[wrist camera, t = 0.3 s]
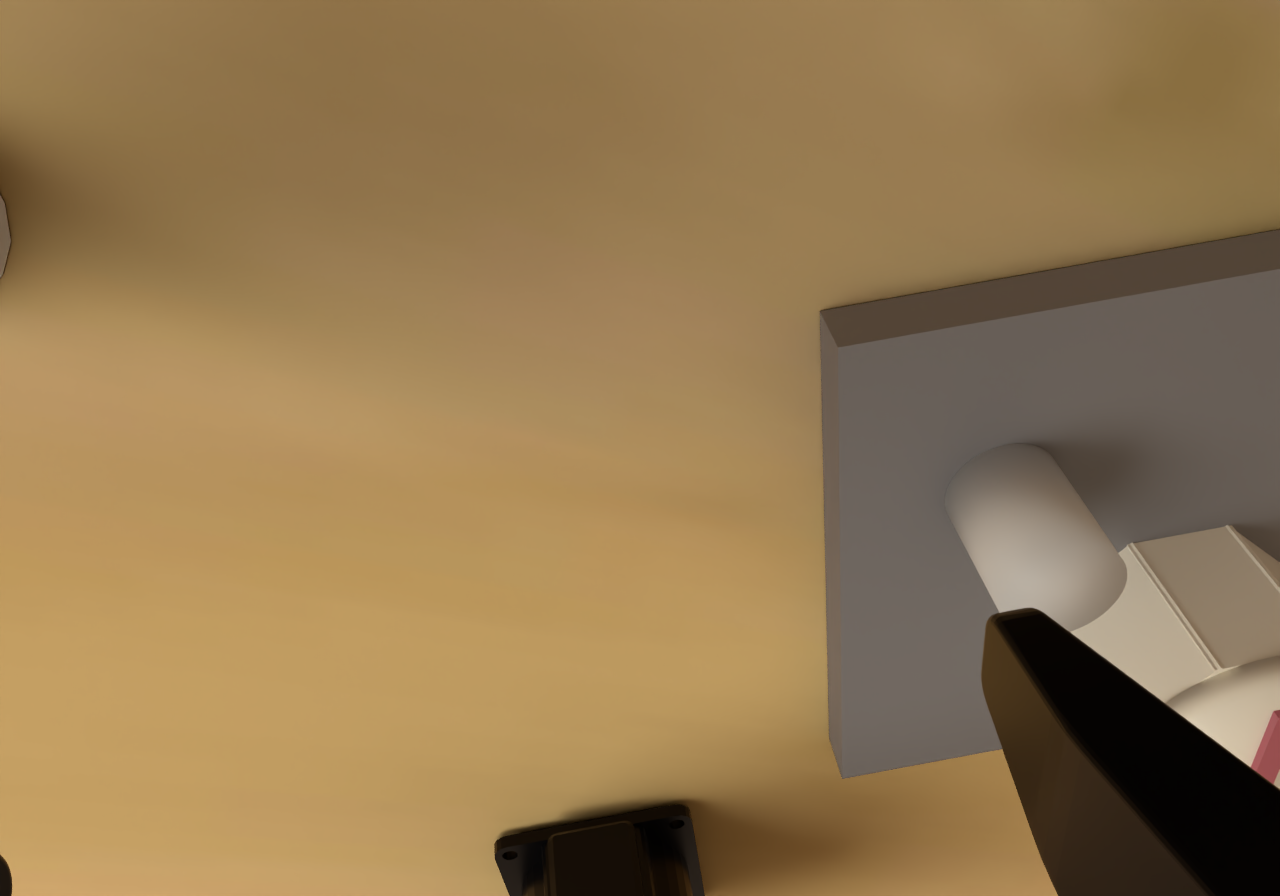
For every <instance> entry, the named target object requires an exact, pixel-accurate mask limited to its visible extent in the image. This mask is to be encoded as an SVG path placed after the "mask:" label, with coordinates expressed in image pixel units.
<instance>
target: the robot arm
mask: <svg viewBox="0 0 1280 896" xmlns="http://www.w3.org/2000/svg"><path fill="white" fill-rule="evenodd" d="M981 682H982V689H983V693H984V697H985V700H986V704H987V706H988V709H989V712H990V715H991V718H992V721H993V723H994V726H995V729H996V732H997V735H998V738H999V741H1000V743H1001V746H1002V749H1003V752H1004V755H1005V758H1006V760H1007V763H1008V766H1009V769H1010V772H1011V775H1012V777H1013V780H1014V783H1015V786H1016V789H1017V792H1018V795H1019V797H1020V800H1021V803H1022V806H1023V809H1024V812H1025V814H1026V817H1027V820H1028V823H1029V826H1030V829H1031V831H1032V834H1033V837H1034V840H1035V842H1036V845H1037V848H1038V850H1039V853H1040V856H1041V858H1042V861H1043V863H1044V865H1045V868H1046V870H1047V872H1048V874H1049V877H1050V879H1051V881H1052V883H1053V886H1054V888H1055V890H1056V892H1057V894H1058V896H1280V789H1279V788H1278V787H1276V786H1275V785H1274V784H1272V783H1271V782H1270V781H1268V780H1267V779H1265V778H1264V777H1263V776H1261V775H1260V774H1259V773H1257V772H1256V771H1255V770H1253V769H1252V768H1251V767H1249V766H1248V765H1247V764H1245V763H1244V762H1243V761H1241V760H1240V759H1239V758H1237V757H1236V756H1235V755H1233V754H1232V753H1231V752H1229V751H1228V750H1227V749H1225V748H1224V747H1223V746H1221V745H1220V744H1219V743H1217V742H1216V741H1215V740H1213V739H1212V738H1211V737H1209V736H1208V735H1207V734H1205V733H1204V732H1203V731H1201V730H1200V729H1199V728H1197V727H1196V726H1195V725H1193V724H1192V723H1191V722H1189V721H1188V720H1187V719H1185V718H1184V717H1183V716H1181V715H1180V714H1179V713H1177V712H1176V711H1175V710H1173V709H1172V708H1171V707H1169V706H1168V705H1167V704H1165V703H1164V702H1163V701H1161V700H1160V699H1159V698H1157V697H1156V696H1155V695H1153V694H1152V693H1151V692H1149V691H1148V690H1147V689H1145V688H1144V687H1143V686H1141V685H1140V684H1139V683H1137V682H1136V681H1135V680H1133V679H1132V678H1131V677H1129V676H1128V675H1127V674H1125V673H1124V672H1123V671H1121V670H1120V669H1119V668H1117V667H1116V666H1115V665H1113V664H1112V663H1111V662H1109V661H1108V660H1107V659H1105V658H1104V657H1102V656H1101V655H1100V654H1098V653H1097V652H1096V651H1094V650H1093V649H1092V648H1090V647H1089V646H1088V645H1086V644H1085V643H1084V642H1082V641H1081V640H1080V639H1078V638H1077V637H1076V636H1074V635H1073V634H1072V633H1070V632H1069V631H1068V630H1066V629H1065V628H1064V627H1062V626H1061V625H1060V624H1058V623H1057V622H1056V621H1054V620H1053V619H1052V618H1050V617H1049V616H1048V615H1046V614H1045V613H1044V612H1042V611H1040V610H1038V609H1035V608H1022V609H1016V610H1011V611H1006V612H1001V613H996V614H993V615H991V616H990V617H989V619H988V620H987V623H986V627H985V638H984V648H983V659H982V669H981ZM494 846H495V860H496V863H497V865H498V868H499V870H500V873H501V875H502V878H503V880H504V883H505V885H506V888H507V890H508V893H509V895H510V896H705V895H704V889H703V883H702V877H701V871H700V866H699V860H698V854H697V848H696V842H695V836H694V831H693V825H692V819H691V814H690V810H689V808H688V807H686V806H685V805H671V806H665V807H660V808H654V809H649V810H644V811H638V812H633V813H628V814H622V815H617V816H612V817H606V818H601V819H596V820H590V821H585V822H579V823H574V824H569V825H563V826H558V827H553V828H547V829H542V830H537V831H531V832H526V833H521V834H515V835H510V836H505V837H502V838H500V839H498V840H497V841H496V842H495V844H494ZM11 894H12V877H11V873H10V869H9V866H8V864H7V862H6V861H5V859H4V858H3V857H2V856H1V855H0V896H11Z"/></svg>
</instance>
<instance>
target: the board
mask: <svg viewBox="0 0 1280 896" xmlns="http://www.w3.org/2000/svg"><path fill="white" fill-rule="evenodd" d="M820 341H821V387H822V432H823V477H824V523H825V568H826V613H827V658H828V704H829V739H830V742H831V745H832V748H833V752H834V755H835V758H836V761H837V764H838V767H839V770H840V773H841V777H842V779H844V778H849V777H855V776H860V775H865V774H871V773H876V772H881V771H887V770H892V769H897V768H903V767H908V766H914V765H919V764H924V763H930V762H935V761H940V760H946V759H951V758H956V757H962V756H967V755H972V754H978V753H983V752H989V751H994V750H999V749H1002V746H1001V743H1000V741H999V738H998V735H997V732H996V729H995V726H994V723H993V721H992V718H991V715H990V712H989V709H988V706H987V704H986V700H985V697H984V693H983V689H982V682H981V669H982V659H983V648H984V638H985V627H986V623H987V620H988V619H989V617H990V616H991V615H993V614H996V613H1001V612H1006V611H1011V610H1016V609H1022V608H1035V609H1038V610H1040V611H1042V612H1044V613H1045V614H1046V615H1048V616H1049V617H1050V618H1052V619H1053V620H1054V621H1056V622H1057V623H1058V624H1060V625H1061V626H1062V627H1064V628H1065V629H1066V630H1068V631H1069V632H1071V631H1074V630H1076V629H1079V628H1081V627H1083V626H1085V625H1087V624H1089V623H1091V622H1092V621H1094V620H1096V619H1097V618H1098V617H1100V616H1101V615H1103V614H1104V613H1105V612H1106V611H1107V610H1108V609H1109V608H1110V607H1112V606H1113V604H1114V603H1115V602H1116V601H1117V600H1118V598H1119V597H1120V595H1121V594H1122V592H1123V590H1124V588H1125V585H1126V582H1127V568H1126V565H1125V563H1124V561H1123V559H1122V558H1121V556H1120V555H1119V552H1120V551H1122V550H1123V549H1124V548H1125V547H1127V544H1130V543H1132V542H1133V543H1138V542H1143V541H1149V540H1154V539H1160V538H1165V537H1171V536H1176V535H1182V534H1187V533H1193V532H1198V531H1204V530H1209V529H1214V528H1220V527H1225V526H1226V525H1229V526H1231V525H1232V526H1233V527H1234V529H1235V530H1236V531H1237V532H1238V533H1240V534H1241V535H1242V536H1244V537H1245V538H1247V539H1248V540H1249V541H1251V542H1252V543H1253V544H1255V545H1256V546H1258V547H1259V548H1260V549H1262V550H1263V551H1264V552H1266V553H1267V554H1269V555H1270V556H1271V557H1273V558H1274V559H1276V560H1277V561H1278V562H1280V230H1274V231H1269V232H1263V233H1257V234H1252V235H1246V236H1241V237H1235V238H1229V239H1224V240H1218V241H1212V242H1207V243H1201V244H1195V245H1190V246H1184V247H1179V248H1173V249H1167V250H1162V251H1156V252H1150V253H1145V254H1139V255H1133V256H1128V257H1122V258H1116V259H1111V260H1105V261H1100V262H1094V263H1088V264H1083V265H1077V266H1071V267H1066V268H1060V269H1054V270H1049V271H1043V272H1038V273H1032V274H1026V275H1021V276H1015V277H1009V278H1004V279H998V280H992V281H987V282H981V283H976V284H970V285H964V286H959V287H953V288H947V289H942V290H936V291H930V292H925V293H919V294H914V295H908V296H902V297H897V298H891V299H885V300H880V301H874V302H868V303H863V304H857V305H852V306H846V307H840V308H835V309H829V310H823V311H820Z"/></svg>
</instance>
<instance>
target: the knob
mask: <svg viewBox="0 0 1280 896" xmlns="http://www.w3.org/2000/svg"><path fill="white" fill-rule="evenodd" d="M1119 555H1120V556H1121V558H1122V559H1123V561H1124V563H1125V565H1126V568H1127V582H1126V585H1125V588H1124V590H1123V592H1122V594H1121V595H1120V597H1119V598H1118V600H1117V601H1116V602H1115V603H1114V604H1113V606H1112V607H1110V608H1109V609H1108V610H1107V611H1106V612H1105V613H1104V614H1103V615H1101V616H1100V617H1098V618H1097V619H1096V620H1094V621H1092V622H1091V623H1089V624H1087V625H1085V626H1083V627H1081V628H1079V629H1076V630H1074V631H1071V632H1070V633H1072V634H1073V635H1074V636H1076V637H1077V638H1078V639H1080V640H1081V641H1082V642H1084V643H1085V644H1086V645H1088V646H1089V647H1090V648H1092V649H1093V650H1094V651H1096V652H1097V653H1098V654H1100V655H1101V656H1102V657H1104V658H1105V659H1107V660H1108V661H1109V662H1111V663H1112V664H1113V665H1115V666H1116V667H1117V668H1119V669H1120V670H1121V671H1123V672H1124V673H1125V674H1127V675H1128V676H1129V677H1131V678H1132V679H1133V680H1135V681H1136V682H1137V683H1139V684H1140V685H1141V686H1143V687H1144V688H1145V689H1147V690H1148V691H1149V692H1151V693H1152V694H1153V695H1155V696H1156V697H1157V698H1159V699H1160V700H1161V701H1163V702H1164V703H1165V704H1167V705H1168V706H1169V707H1171V708H1172V709H1173V710H1175V711H1176V712H1177V713H1179V714H1180V715H1181V716H1183V717H1184V718H1185V719H1187V720H1188V721H1189V722H1191V723H1192V724H1193V725H1195V726H1196V727H1197V728H1199V729H1200V730H1201V731H1203V732H1204V733H1205V734H1207V735H1208V736H1209V737H1211V738H1212V739H1213V740H1215V741H1216V742H1217V743H1219V744H1220V745H1221V746H1223V747H1224V748H1225V749H1227V750H1228V751H1229V752H1231V753H1232V754H1233V755H1235V756H1236V757H1237V758H1239V759H1240V760H1241V761H1243V762H1244V763H1245V764H1247V765H1248V766H1249V767H1251V768H1252V769H1253V770H1255V771H1256V772H1257V773H1259V774H1260V775H1261V776H1263V777H1264V778H1265V779H1267V780H1268V781H1270V782H1271V783H1272V784H1274V785H1275V786H1276V787H1278V788H1279V789H1280V562H1278V561H1277V560H1276V559H1274V558H1273V557H1271V556H1270V555H1269V554H1267V553H1266V552H1264V551H1263V550H1262V549H1260V548H1259V547H1258V546H1256V545H1255V544H1253V543H1252V542H1251V541H1249V540H1248V539H1247V538H1245V537H1244V536H1242V535H1241V534H1240V533H1238V532H1237V531H1236V530H1235V529H1234V527H1233V526H1232V525H1231V526H1229V525H1226V526H1225V527H1220V528H1214V529H1209V530H1204V531H1198V532H1193V533H1187V534H1182V535H1176V536H1171V537H1165V538H1160V539H1154V540H1149V541H1143V542H1138V543H1133V542H1132V543H1130V544H1127V547H1125V548H1124V549H1123V550H1122V551H1120V552H1119Z"/></svg>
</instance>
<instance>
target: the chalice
mask: <svg viewBox="0 0 1280 896" xmlns="http://www.w3.org/2000/svg"><path fill="white" fill-rule="evenodd" d="M10 243H11V239H10V233H9V227H8V220H7V214H6V208H5V203H4V201H3V199H2V197H1V195H0V278H1V276H2V275H3V272H4V268H5V264H6V260H7V255H8V251H9V247H10Z"/></svg>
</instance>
